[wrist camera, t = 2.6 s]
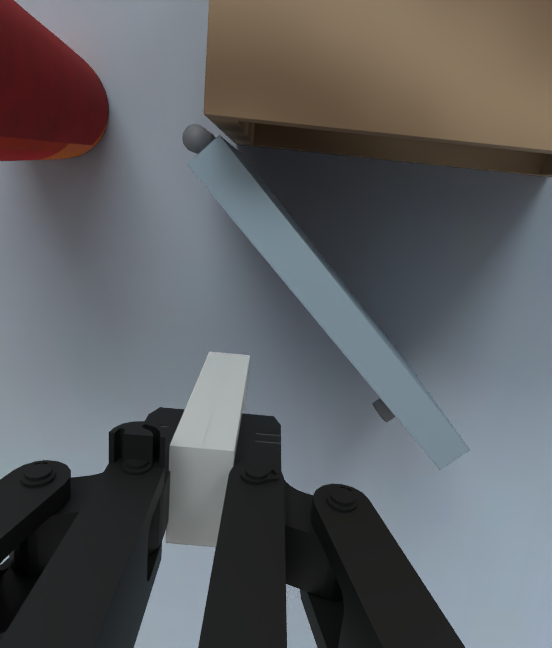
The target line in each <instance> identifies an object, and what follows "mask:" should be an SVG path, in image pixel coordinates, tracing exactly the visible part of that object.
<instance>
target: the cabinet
mask: <svg viewBox="0 0 552 648" xmlns="http://www.w3.org/2000/svg"><path fill="white" fill-rule="evenodd" d="M204 115H205V116H207V117H208V118H209V119H210V120H211V121H212V122H213V123H214V124H215V125H216V126H217V127H218V128H219V129H220V130H222V131H223V132H224V133H225V134H226V135H227V136H228V137H229V138H230V139H231V140H232V141H233V142H234V143H235V144H237V145H247V146H257V147H266V148H276V149H285V150H295V151H305V152H314V153H324V154H333V155H343V156H352V157H362V158H372V159H381V160H391V161H400V162H410V163H419V164H429V165H439V166H448V167H458V168H467V169H477V170H487V171H496V172H506V173H515V174H525V175H534V176H544V177H552V0H209V17H208V37H207V57H206V77H205V97H204Z"/></svg>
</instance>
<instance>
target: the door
mask: <svg viewBox="0 0 552 648" xmlns="http://www.w3.org/2000/svg"><path fill="white" fill-rule="evenodd" d="M183 143H184V145H185V147H186V148H187V149H188V150H190V151H192V152H194V153H197V154H198V155H197V156H196V157H195V158H194V159H192V160H191V161H190V162H189V163H188V164H187V165H188V166H189V168H190V169H191V170H192V171H193V172H194V174H195V175H196V176H197V177H198V179H199V180H200V181H201V182H202V183H203V185H204V186H205V187H206V188H207V189H208V191H209V192H210V193H211V194H212V195H213V197H214V198H215V199H216V200H217V201H218V203H219V204H220V205H221V206H222V207H223V209H224V210H225V211H226V212H227V214H228V215H229V216H230V217H231V218H232V220H233V221H234V222H235V223H236V224H237V226H238V227H239V228H240V229H241V230H242V232H243V233H244V234H245V235H246V236H247V238H248V239H249V240H250V241H251V243H252V244H253V245H254V246H255V247H256V249H257V250H258V251H259V252H260V253H261V255H262V256H263V257H264V258H265V259H266V261H267V262H268V263H269V264H270V265H271V267H272V268H273V269H274V270H275V271H276V273H277V274H278V275H279V276H280V278H281V279H282V280H283V281H284V282H285V284H286V285H287V286H288V287H289V288H290V290H291V291H292V292H293V293H294V294H295V296H296V297H297V298H298V299H299V300H300V302H301V303H302V304H303V305H304V307H305V308H306V309H307V310H308V311H309V313H310V314H311V315H312V316H313V317H314V319H315V320H316V321H317V322H318V323H319V325H320V326H321V327H322V328H323V329H324V331H325V332H326V333H327V334H328V335H329V337H330V338H331V339H332V340H333V342H334V343H335V344H336V345H337V346H338V348H339V349H340V350H341V351H342V352H343V354H344V355H345V356H346V357H347V358H348V360H349V361H350V362H351V363H352V364H353V366H354V367H355V368H356V369H357V370H358V372H359V373H360V374H361V375H362V377H363V378H364V379H365V380H366V381H367V383H368V384H369V385H370V386H371V387H372V389H373V390H374V391H375V392H376V393H377V395H378V396H379V397H380V399H378V400H377V401H375V402H374V403H373V406H374V407H375V409H376V411H377V412H378V413H379V415H380V416H381V417H382V419H383V420H384V421H385V422H388V421H390V420H391V419H392V418H394V417H395V416H396V418H397V419H398V420H399V421H400V422H401V424H402V425H403V426H404V427H405V428H406V430H407V431H408V432H409V433H410V434H411V436H412V437H413V438H414V439H415V441H416V442H417V443H418V444H419V445H420V447H421V448H422V449H423V450H424V451H425V453H426V454H427V455H428V456H429V457H430V459H431V460H432V461H433V462H434V463H435V465H436V466H437V467H438V468H439V469H442V468H443V467H445V466H446V465H448V464H449V463H451V462H453V461H454V460H456V459H457V458H459V457H460V456H462V455H463V454H465V453H466V452H468V451H469V450H470V449H469V448H468V446H467V445H466V444H465V442H464V441H463V439H462V438H461V437H460V435H459V434H458V432H457V431H456V430H455V428H454V427H453V426H452V424H451V423H450V421H449V420H448V419H447V417H446V416H445V414H444V413H443V412H442V410H441V409H440V407H439V406H438V405H437V403H436V402H435V400H434V399H433V398H432V396H431V395H430V394H429V392H428V391H427V389H426V388H425V387H424V385H423V384H422V382H421V381H420V380H419V378H418V377H417V375H416V374H415V373H414V371H413V370H412V369H411V368H410V366H409V365H408V364H407V362H406V361H405V360H404V359H403V357H402V356H401V355H400V354H399V352H398V351H397V350H396V349H395V347H394V346H393V345H392V344H391V342H390V341H389V340H388V338H387V337H386V336H385V335H384V333H383V332H382V331H381V330H380V328H379V327H378V326H377V325H376V323H375V322H374V321H373V320H372V318H371V317H370V316H369V315H368V313H367V312H366V311H365V309H364V308H363V307H362V306H361V304H360V303H359V302H358V301H357V299H356V298H355V297H354V296H353V294H352V293H351V292H350V291H349V289H348V288H347V287H346V286H345V284H344V283H343V282H342V280H341V279H340V278H339V277H338V275H337V274H336V273H335V272H334V270H333V269H332V268H331V267H330V265H329V264H328V263H327V262H326V260H325V259H324V258H323V256H322V255H321V254H320V253H319V251H318V250H317V249H316V248H315V246H314V245H313V244H312V243H311V241H310V240H309V239H308V238H307V236H306V235H305V234H304V233H303V231H302V230H301V229H300V227H299V226H298V225H297V224H296V222H295V221H294V220H293V219H292V217H291V216H290V215H289V214H288V212H287V211H286V210H285V209H284V207H283V206H282V205H281V203H280V202H279V201H278V200H277V198H276V197H275V196H274V195H273V193H272V192H271V191H270V190H269V188H268V187H267V186H266V185H265V183H264V182H263V181H262V180H261V178H260V177H259V176H258V174H257V173H256V172H255V171H254V169H253V168H252V167H251V166H250V164H249V163H248V162H247V161H246V159H245V158H244V157H243V156H242V154H241V153H240V152H239V151H238V150H237V149H236V148H234V147H233V146H232V145H231V144H229V143H228V142H227V141H226V140H225V139H223V138H222V137H221V136H220V135H219V136H218V137H217V138H216V137H214V135H213V134H212V133H210V132H209V131H208V130H206V129H205V128H204V127H202V126H200V125H197V124H193V125H190V126H188V127H187V128H186V129H185V131H184V133H183Z"/></svg>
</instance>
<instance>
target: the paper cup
mask: <svg viewBox="0 0 552 648" xmlns="http://www.w3.org/2000/svg"><path fill="white" fill-rule="evenodd" d="M108 115H109V107H108V100H107V95H106V92H105V89H104V87H103V85H102V83H101V81H100V79H99V77H98V76H97V74H96V73H95V72H94V70H93V69H92V68H91V67H90V66H89V65H88V64H87V63H86V62H85V61H84V60H83V59H82V58H81V57H80V56H79V55H78V54H76V53H75V52H74V51H73V50H72V49H71V48H70V47H68V46H67V45H66V44H65V43H64V42H62V41H61V40H60V39H59V38H58V37H57V36H55V35H54V34H53V33H52V32H51V31H49V30H48V29H47V28H46V27H45V26H43V25H42V24H41V23H40V22H39V21H37V20H36V19H35V18H34V17H33V16H31V15H30V14H29V13H28V12H27V11H25V10H24V9H23V8H22V7H21V6H20V5H19V4H17V3H16V2H15V1H14V0H0V161H19V160H52V159H66V158H73V157H77V156H80V155H82V154H84V153H86V152H88V151H89V150H91V149H92V148H93V147H94V146H95V145H96V144H97V143H98V142H99V141H100V139H101V138H102V136H103V134H104V132H105V129H106V126H107V122H108Z"/></svg>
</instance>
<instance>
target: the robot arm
mask: <svg viewBox="0 0 552 648" xmlns="http://www.w3.org/2000/svg"><path fill="white" fill-rule="evenodd" d="M249 361H250V355H242V354H231V353H220V352H210V351H209V353H208V356H207V358H206V360H205V363H204V365H203V368H202V370H201V372H200V375H199V377H198V379H197V382H196V384H195V387H194V389H193V391H192V394H191V396H190V398H189V401H188V403H187V406H186V408H185V410H184V409H173V408H162V407H160V408H158V409H157V410H155V411H153V412H152V413H150V414H149V415H148V417H147V418H146V420H145V421H141V422H129V423H124V424H121V425H119V426H117V427H114V428H113V429H112V430H111V431H110V432H109V464H108V466H107V467H106V469H105V471H104V472H103V473H100V474H96V475H91V476H83V477H73V478H71V470H70V469H69V468H68V466H67V465H65V464H63V463H61V462H58V461H49V460H43V461H35V462H32V463H29V464H25V465H23V466H21V467H19V468H17V469H15V470H13V471H12V472H10V473H9V474H8V475H6V476H5V477H3V478H2V479H1V480H0V563H1V562H2V561H3V560H4V559H5V558H6V557H7V556H8V555H9V558H8V559H7V560H6V561H5V562H4V563H3V564H1V565H0V648H134V645H135V641H136V638H137V635H138V632H139V629H140V625H141V622H142V619H143V616H144V613H145V609H146V606H147V603H148V600H149V596H150V593H151V590H152V587H153V584H154V580H155V577H156V574H157V571H158V568H159V564H160V561H161V552H162V539H163V536H164V533H165V530H166V543H173V544H185V545H197V546H209V547H216V550H215V555H214V561H213V567H212V573H211V578H210V584H209V590H208V595H207V601H206V607H205V612H204V618H203V624H202V629H201V635H200V641H199V647H198V648H287V626H286V584H288V585H291V586H293V587H296V588H299V589H300V594H301V600H302V603H303V606H304V609H305V612H306V615H307V618H308V621H309V624H310V627H311V630H312V632H313V635H314V638H315V641H316V644H317V647H318V648H465V646H464V645H463V643H462V642H461V640H460V639H459V637H458V636H457V634H456V633H455V631H454V629H453V628H452V626H451V625H450V623H449V622H448V620H447V619H446V617H445V616H444V614H443V613H442V611H441V609H440V608H439V606H438V605H437V603H436V602H435V600H434V599H433V597H432V596H431V594H430V593H429V591H428V590H427V588H426V586H425V585H424V583H423V582H422V580H421V579H420V577H419V576H418V574H417V573H416V571H415V570H414V568H413V566H412V565H411V563H410V562H409V560H408V559H407V557H406V556H405V554H404V553H403V551H402V550H401V548H400V546H399V545H398V543H397V542H396V540H395V539H394V537H393V536H392V534H391V533H390V531H389V530H388V528H387V527H386V525H385V523H384V522H383V520H382V519H381V517H380V516H379V514H378V513H377V511H376V510H375V508H374V507H373V505H372V503H371V502H370V500H369V499H368V498H367V497H366V496H365V495H364V494H363V493H362V492H360V491H358V490H357V489H355V488H353V487H350V486H346V485H343V484H329V485H324V486H322V487H320V488H318V489H317V490H316V491H315V493H314V495H310V494H306V493H304V492H301V491H298V490H296V489H295V488H293V487H291V486H290V485H289V484H288V483H287V482H286V481H285V480H284V477H283V474H282V472H281V425H280V424H279V422H278V421H277V420H276V419H275V417H274V416H264V415H253V414H245V406H246V395H247V383H248V372H249Z"/></svg>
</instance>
